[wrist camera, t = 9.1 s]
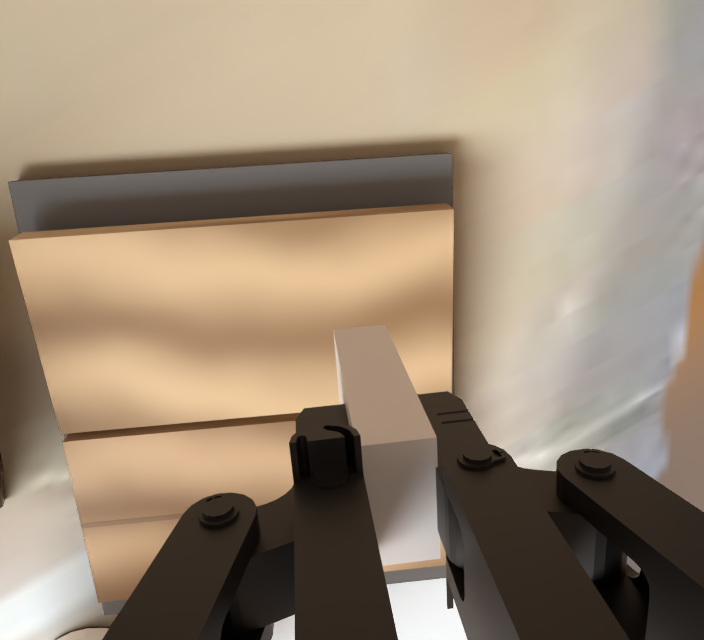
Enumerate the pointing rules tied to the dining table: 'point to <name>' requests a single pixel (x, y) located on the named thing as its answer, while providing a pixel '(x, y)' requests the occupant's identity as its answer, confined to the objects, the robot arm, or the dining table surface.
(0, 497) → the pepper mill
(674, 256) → the dining table surface
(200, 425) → the plank
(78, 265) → the plank
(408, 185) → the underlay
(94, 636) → the cup
